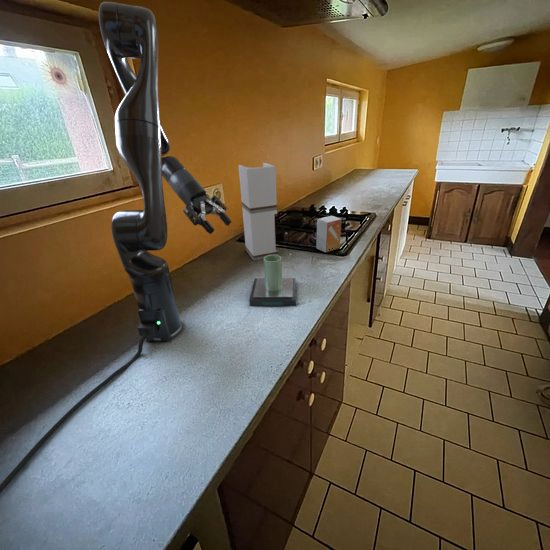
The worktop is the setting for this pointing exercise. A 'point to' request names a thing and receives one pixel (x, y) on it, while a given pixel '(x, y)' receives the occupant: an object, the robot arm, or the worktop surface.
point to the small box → (328, 233)
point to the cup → (273, 272)
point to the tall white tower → (259, 209)
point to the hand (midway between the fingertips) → (221, 227)
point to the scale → (273, 293)
